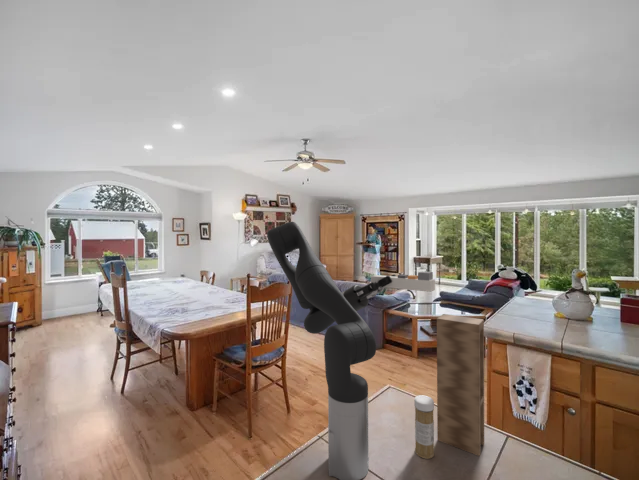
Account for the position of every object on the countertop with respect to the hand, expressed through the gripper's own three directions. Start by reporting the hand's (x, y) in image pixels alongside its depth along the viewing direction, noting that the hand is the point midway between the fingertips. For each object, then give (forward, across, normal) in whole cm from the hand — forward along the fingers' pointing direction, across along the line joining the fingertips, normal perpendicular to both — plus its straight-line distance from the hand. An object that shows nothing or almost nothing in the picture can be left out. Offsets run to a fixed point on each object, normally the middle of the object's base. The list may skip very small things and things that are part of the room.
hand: (393, 277), depth 92 cm
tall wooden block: (-5, 0, +45) cm, 45 cm away
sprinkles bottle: (-10, -10, +42) cm, 45 cm away
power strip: (+1, 0, +4) cm, 4 cm away
